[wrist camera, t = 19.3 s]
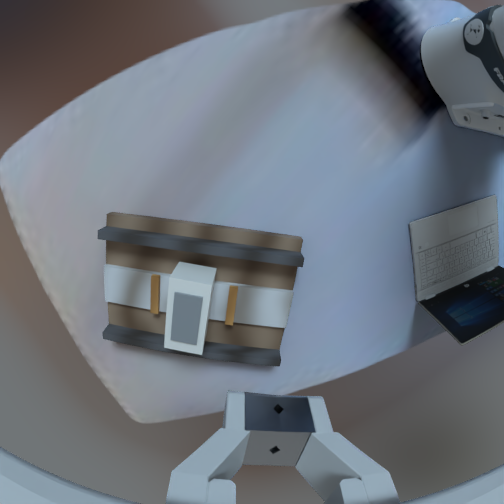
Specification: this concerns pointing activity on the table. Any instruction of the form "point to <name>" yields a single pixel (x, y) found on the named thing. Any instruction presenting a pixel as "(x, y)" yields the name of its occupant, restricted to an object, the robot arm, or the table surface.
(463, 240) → the laptop
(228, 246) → the rail board
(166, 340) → the block
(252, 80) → the table surface
